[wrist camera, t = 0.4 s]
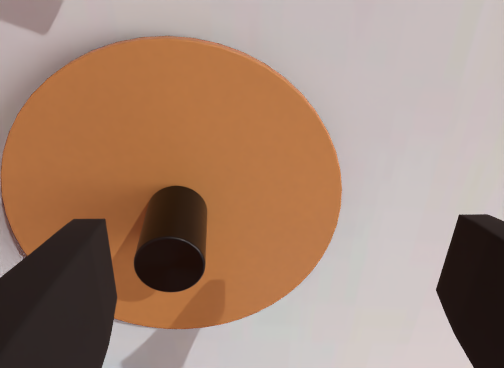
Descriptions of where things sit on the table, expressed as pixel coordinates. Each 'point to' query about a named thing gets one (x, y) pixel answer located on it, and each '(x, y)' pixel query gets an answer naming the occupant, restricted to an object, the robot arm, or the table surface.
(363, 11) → the table surface
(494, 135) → the table surface
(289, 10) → the table surface
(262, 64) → the lid
